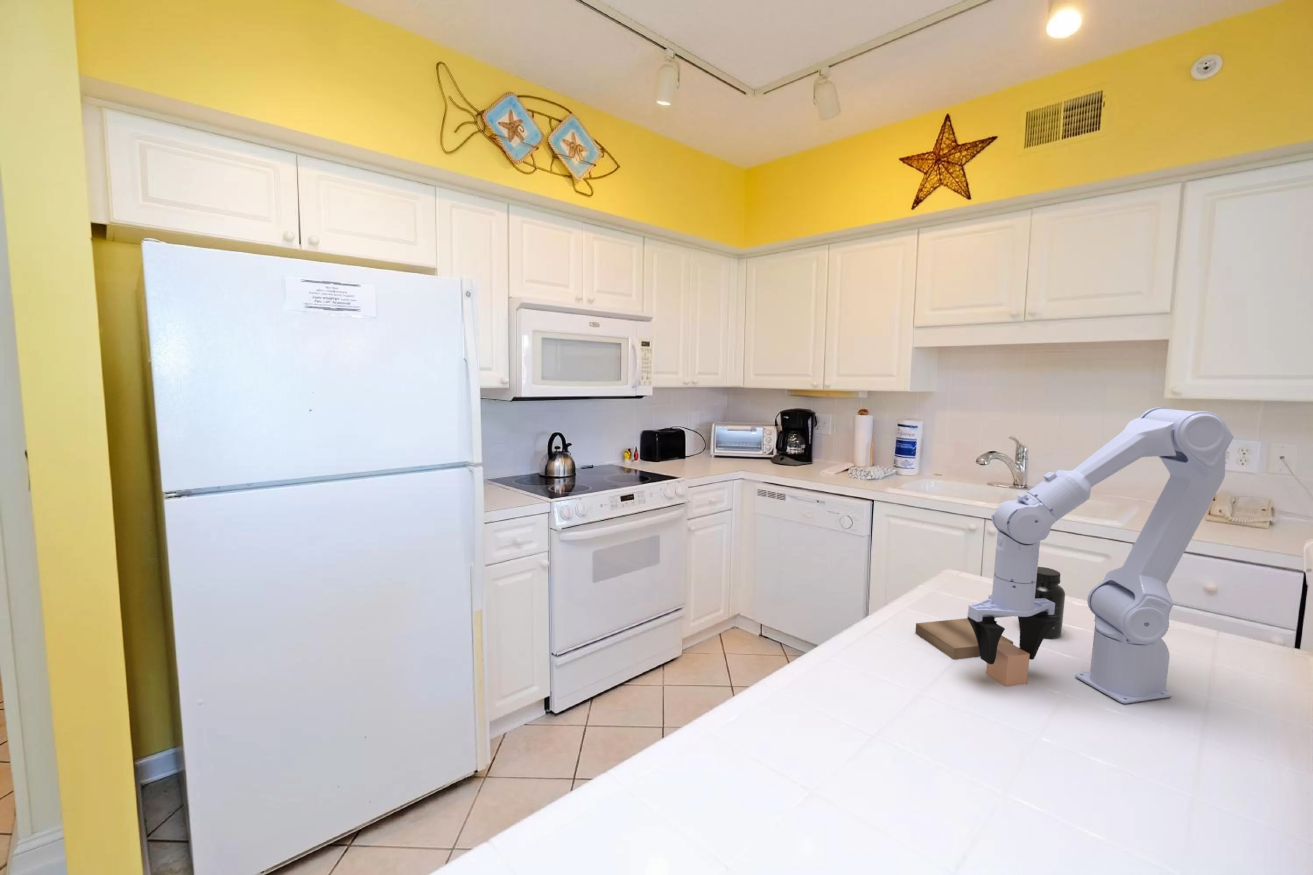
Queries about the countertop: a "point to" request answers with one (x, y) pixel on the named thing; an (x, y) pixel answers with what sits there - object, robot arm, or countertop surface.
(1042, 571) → the supplement bottle
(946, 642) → the walnut board
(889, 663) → the countertop surface
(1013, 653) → the terracotta block
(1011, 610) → the robot arm
